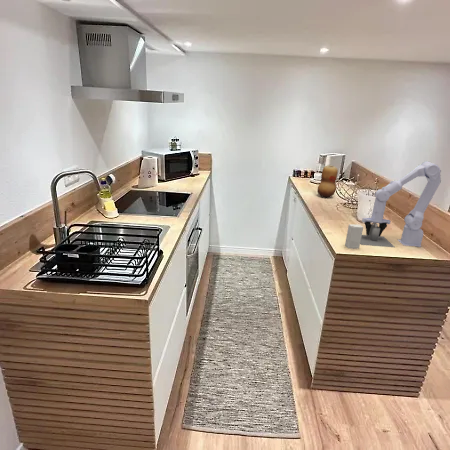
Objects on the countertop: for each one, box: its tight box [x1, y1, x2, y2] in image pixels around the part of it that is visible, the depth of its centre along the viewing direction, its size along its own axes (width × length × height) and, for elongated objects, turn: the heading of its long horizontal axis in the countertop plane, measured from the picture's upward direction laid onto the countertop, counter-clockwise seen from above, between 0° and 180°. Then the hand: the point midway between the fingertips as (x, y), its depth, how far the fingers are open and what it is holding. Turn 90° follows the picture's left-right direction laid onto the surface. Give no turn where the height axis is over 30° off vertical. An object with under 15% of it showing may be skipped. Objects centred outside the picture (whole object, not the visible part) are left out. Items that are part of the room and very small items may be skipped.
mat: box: [360, 234, 396, 248], centre depth 189 cm, size 18×16×1 cm
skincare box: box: [344, 223, 364, 250], centre depth 176 cm, size 6×4×12 cm
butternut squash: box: [317, 164, 339, 198], centre depth 274 cm, size 14×13×25 cm
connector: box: [367, 223, 380, 241], centre depth 190 cm, size 4×8×9 cm, turn 178°
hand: (373, 235), depth 191 cm, fingers open, 6 cm apart
